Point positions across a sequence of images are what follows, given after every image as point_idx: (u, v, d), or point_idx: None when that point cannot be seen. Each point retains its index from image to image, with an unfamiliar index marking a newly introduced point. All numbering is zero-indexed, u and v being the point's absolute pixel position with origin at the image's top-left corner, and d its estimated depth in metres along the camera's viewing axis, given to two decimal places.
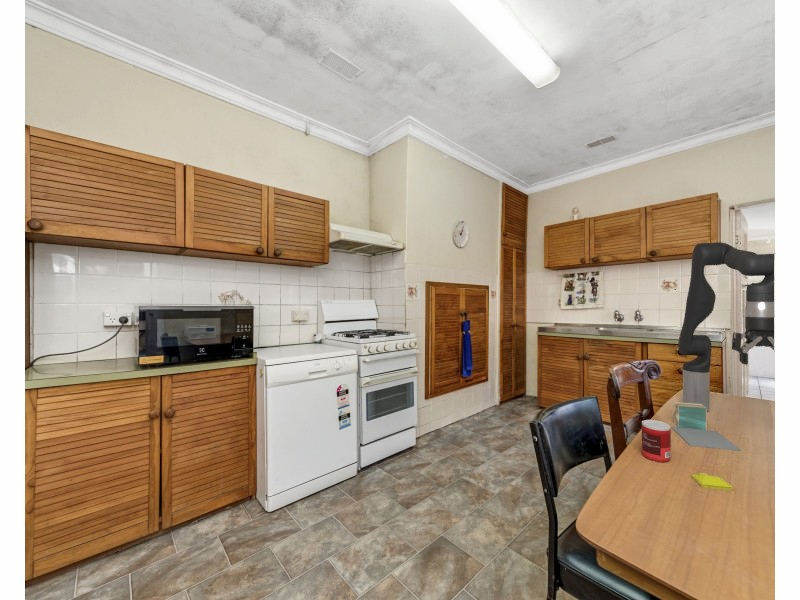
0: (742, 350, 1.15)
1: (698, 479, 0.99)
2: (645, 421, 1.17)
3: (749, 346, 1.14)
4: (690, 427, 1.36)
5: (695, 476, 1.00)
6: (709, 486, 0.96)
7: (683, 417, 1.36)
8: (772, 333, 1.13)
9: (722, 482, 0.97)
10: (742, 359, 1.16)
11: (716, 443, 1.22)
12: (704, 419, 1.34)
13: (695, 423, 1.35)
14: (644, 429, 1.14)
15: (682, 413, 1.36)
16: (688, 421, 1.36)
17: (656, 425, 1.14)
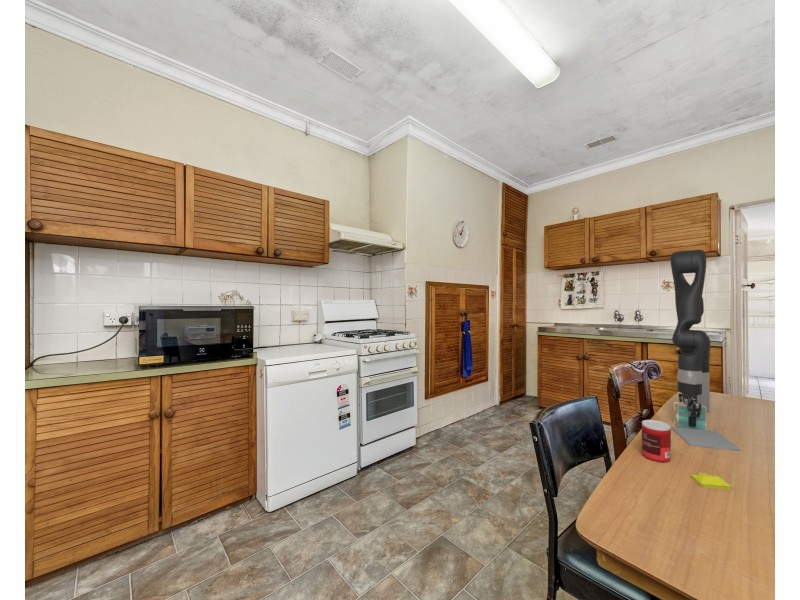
0: None
1: (698, 479, 0.99)
2: (645, 421, 1.17)
3: None
4: (690, 427, 1.36)
5: (694, 476, 1.00)
6: (709, 486, 0.97)
7: (683, 417, 1.36)
8: None
9: (721, 481, 0.97)
10: None
11: (716, 443, 1.22)
12: (704, 419, 1.34)
13: None
14: (644, 429, 1.14)
15: (682, 413, 1.36)
16: None
17: (656, 425, 1.14)
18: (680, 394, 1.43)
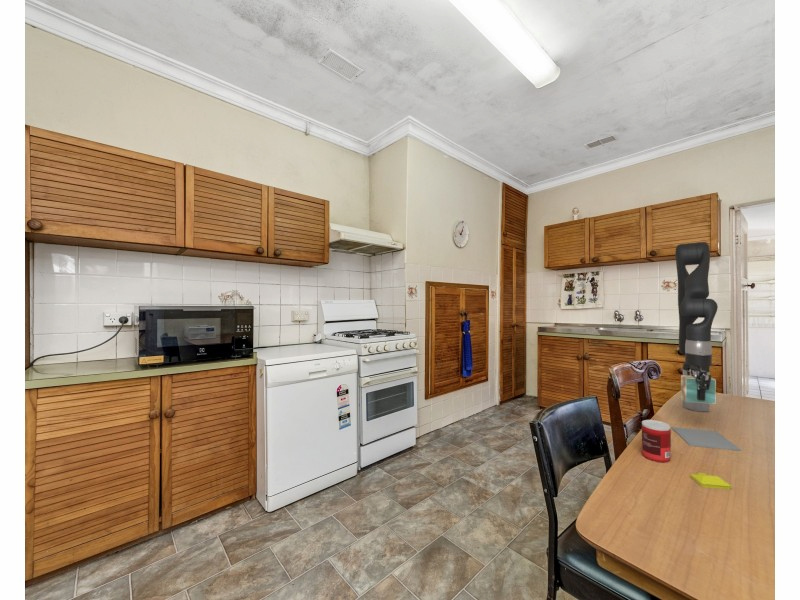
0: None
1: (698, 479, 0.99)
2: (645, 421, 1.17)
3: None
4: (698, 400, 1.29)
5: (694, 476, 1.00)
6: (709, 486, 0.97)
7: (691, 390, 1.29)
8: None
9: (721, 481, 0.97)
10: (704, 396, 1.27)
11: (716, 443, 1.22)
12: (713, 392, 1.27)
13: None
14: (644, 429, 1.14)
15: (690, 386, 1.30)
16: (696, 394, 1.29)
17: (656, 425, 1.14)
18: (688, 367, 1.36)
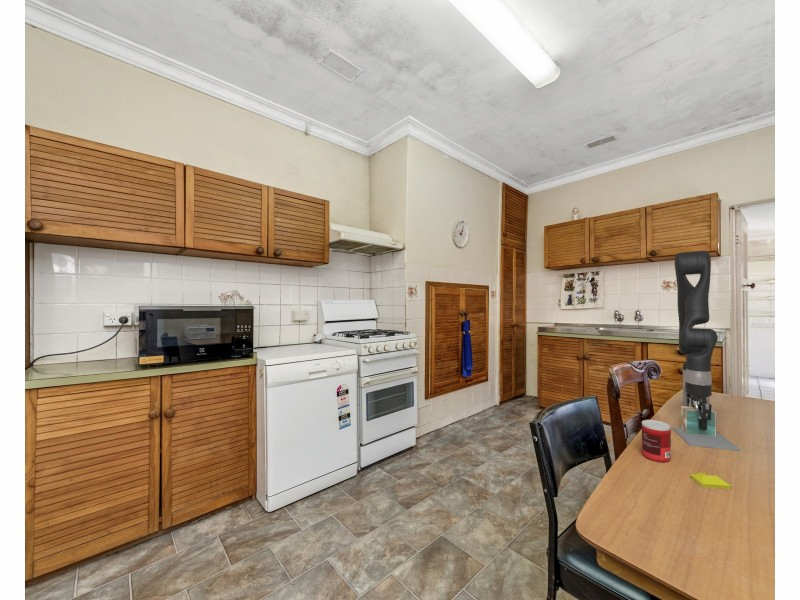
0: None
1: (698, 479, 0.99)
2: (645, 421, 1.17)
3: None
4: (699, 432, 1.29)
5: (694, 476, 1.01)
6: (709, 486, 0.97)
7: (691, 422, 1.30)
8: None
9: (721, 481, 0.97)
10: None
11: (716, 443, 1.22)
12: (713, 424, 1.28)
13: None
14: (644, 429, 1.14)
15: (690, 418, 1.30)
16: (696, 426, 1.29)
17: (656, 425, 1.14)
18: (688, 394, 1.36)
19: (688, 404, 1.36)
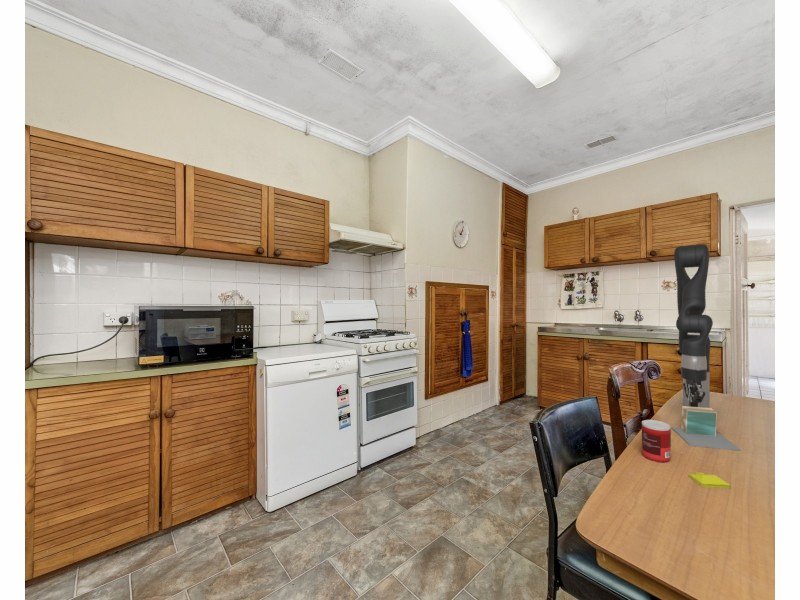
0: None
1: (697, 479, 0.99)
2: (645, 421, 1.17)
3: None
4: (699, 433, 1.29)
5: (693, 476, 1.01)
6: (709, 485, 0.97)
7: (692, 422, 1.29)
8: None
9: (720, 480, 0.97)
10: None
11: (716, 443, 1.22)
12: (714, 425, 1.27)
13: (704, 429, 1.29)
14: (644, 429, 1.14)
15: (691, 418, 1.29)
16: (697, 426, 1.29)
17: (656, 425, 1.14)
18: (684, 383, 1.39)
19: None
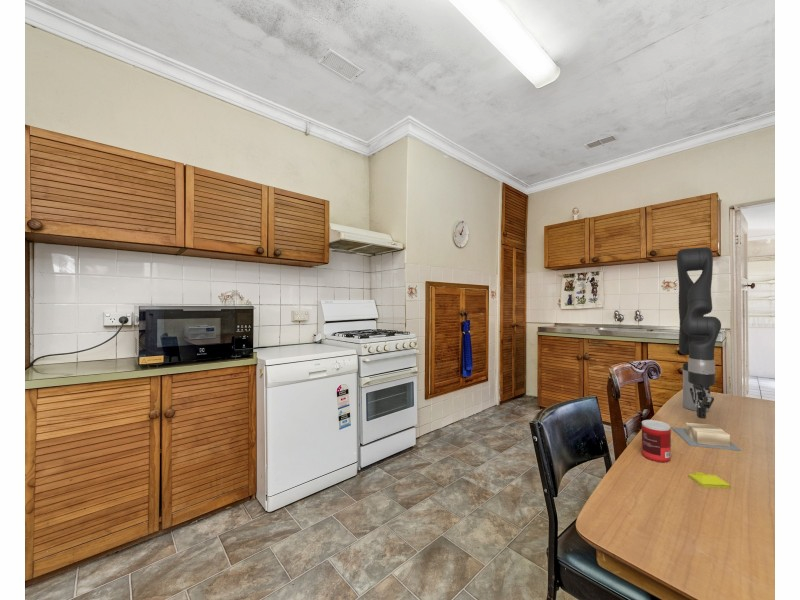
0: None
1: (697, 479, 0.99)
2: (645, 421, 1.17)
3: None
4: None
5: (693, 476, 1.01)
6: (709, 485, 0.97)
7: None
8: None
9: (720, 480, 0.97)
10: (705, 414, 1.27)
11: None
12: None
13: None
14: (644, 429, 1.14)
15: None
16: None
17: (656, 425, 1.14)
18: (691, 388, 1.33)
19: None
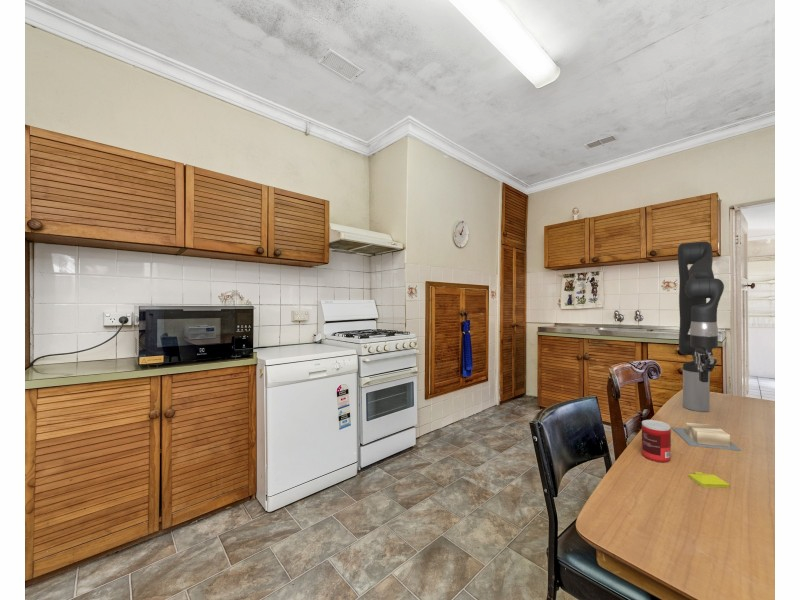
0: None
1: (697, 479, 0.99)
2: (645, 421, 1.17)
3: None
4: None
5: (693, 476, 1.01)
6: (709, 485, 0.97)
7: None
8: None
9: (719, 480, 0.98)
10: (707, 378, 1.25)
11: None
12: None
13: None
14: (644, 429, 1.14)
15: None
16: None
17: (656, 425, 1.14)
18: (693, 353, 1.32)
19: None
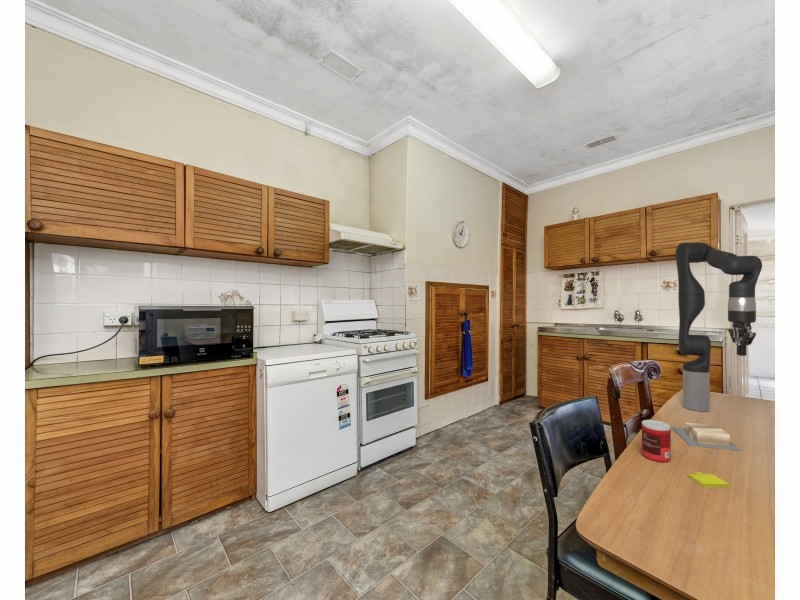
0: None
1: (697, 479, 0.99)
2: (645, 421, 1.17)
3: None
4: None
5: (693, 476, 1.01)
6: (709, 485, 0.97)
7: None
8: None
9: (719, 480, 0.98)
10: (745, 351, 1.30)
11: None
12: None
13: None
14: (644, 429, 1.14)
15: None
16: None
17: (656, 425, 1.14)
18: (730, 329, 1.36)
19: None
